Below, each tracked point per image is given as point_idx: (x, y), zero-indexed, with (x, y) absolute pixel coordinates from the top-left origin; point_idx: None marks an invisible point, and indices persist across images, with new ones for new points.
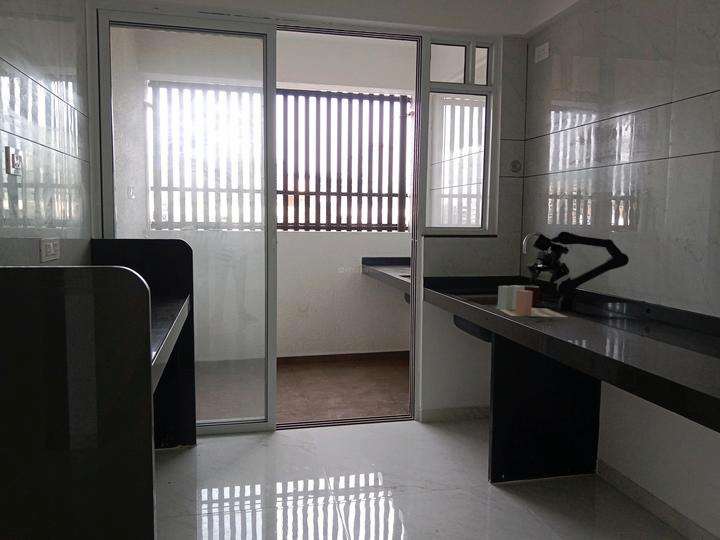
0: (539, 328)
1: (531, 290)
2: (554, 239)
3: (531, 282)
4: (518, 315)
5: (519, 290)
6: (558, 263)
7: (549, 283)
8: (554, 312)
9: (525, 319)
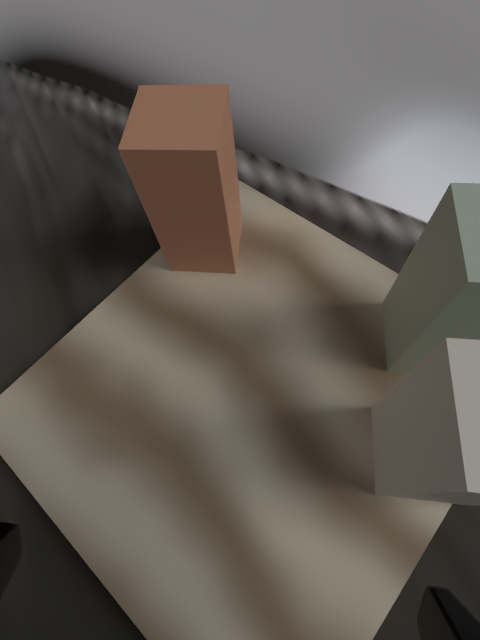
0: (43, 109)
1: None
2: None
3: (426, 593)
4: None
5: (217, 102)
6: None
7: (3, 529)
8: (109, 551)
9: None
